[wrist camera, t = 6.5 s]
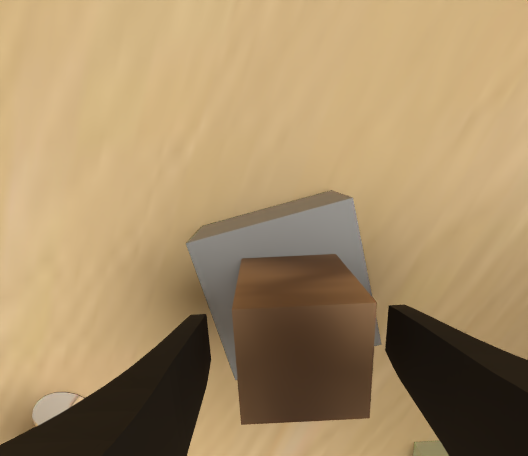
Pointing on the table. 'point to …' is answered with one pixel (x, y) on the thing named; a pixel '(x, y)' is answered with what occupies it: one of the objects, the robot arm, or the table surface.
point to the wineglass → (53, 406)
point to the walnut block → (302, 340)
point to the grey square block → (274, 249)
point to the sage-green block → (429, 449)
